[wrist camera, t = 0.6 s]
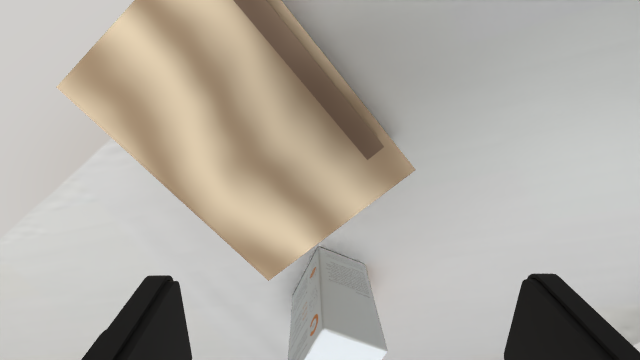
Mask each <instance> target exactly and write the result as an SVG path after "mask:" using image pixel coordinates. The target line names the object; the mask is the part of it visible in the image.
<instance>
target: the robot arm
mask: <svg viewBox="0 0 640 360" xmlns="http://www.w3.org/2000/svg"><path fill="white" fill-rule="evenodd" d="M82 360H192V354H191V348H190V342H189V336H188V331H187V325H186V319H185V314H184V308H183V302H182V296H181V291H180V285H179V283H178V281H173V278H172V277H171V276H147V277H146V278H145V279H144V280H143V282H142V283H141V284H140V286H139V287H138V288H137V290H136V291H135V292H134V294H133V295H132V296H131V298H130V299H129V301H128V302H127V303H126V305H125V306H124V307H123V309H122V310H121V311H120V313H119V314H118V315H117V317H116V318H115V319H114V321H113V322H112V323H111V325H110V326H109V327H108V329H107V330H105V331H104V332H103V333H102V334H101V335H100V336H99V337H98V338H97V340H96V341H95V342H94V344H93V345H92V346H91V348H90V349H89V350H88V352H87V353H86V354H85V356H84V357H83V358H82ZM504 360H640V352H639V351H638V350H637V349H635V348H634V347H633V346H632V345H631V344H630V343H629V342H628V341H627V340H626V339H625V338H624V337H623V336H622V335H621V334H619V333H618V332H617V331H616V330H615V329H614V328H613V327H612V326H611V325H610V324H609V323H608V322H607V321H606V320H605V319H604V318H602V317H601V316H600V315H599V314H598V313H597V312H596V311H595V310H594V309H593V308H592V307H591V306H590V305H589V304H588V303H586V302H585V301H584V300H583V299H582V298H581V297H580V296H579V295H578V294H577V293H576V292H575V291H574V290H573V289H572V288H571V287H569V286H568V285H567V284H566V283H565V282H564V281H563V280H562V279H561V278H560V277H559V276H557V275H556V274H531V275H529V276H528V278H527V279H526V280H524V281H523V282H522V285H521V289H520V293H519V296H518V300H517V304H516V308H515V312H514V316H513V320H512V324H511V328H510V332H509V336H508V340H507V344H506V348H505V352H504Z"/></svg>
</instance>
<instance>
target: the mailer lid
mask: <svg viewBox="0 0 640 360" xmlns="http://www.w3.org/2000/svg"><path fill="white" fill-rule="evenodd" d="M57 88H58V89H59V90H60V91H61V92H62V93H63V94H64V95H66V96H67V97H68V98H69V99H70V100H71V101H72V102H73V103H74V104H75V105H76V106H78V107H79V108H80V109H81V110H82V111H83V112H84V113H85V114H86V115H87V116H89V117H90V118H91V119H92V120H93V121H94V122H95V123H96V124H97V125H98V126H99V127H101V128H102V129H103V130H104V131H105V132H106V133H107V134H108V135H109V136H110V137H111V138H113V139H114V140H115V141H116V142H117V143H118V144H119V145H120V146H121V147H122V148H124V149H125V150H126V151H127V152H128V153H129V154H130V155H131V156H132V157H133V158H134V159H136V160H137V161H138V162H139V163H140V164H141V165H142V166H143V167H144V168H145V169H147V170H148V171H149V172H150V173H151V174H152V175H153V176H154V177H155V178H156V179H158V180H159V181H160V182H161V183H162V184H163V185H164V186H165V187H166V188H167V189H168V190H170V191H171V192H172V193H173V194H174V195H175V196H176V197H177V198H178V199H179V200H181V201H182V202H183V203H184V204H185V205H186V206H187V207H188V208H189V209H190V210H191V211H193V212H194V213H195V214H196V215H197V216H198V217H199V218H200V219H201V220H202V221H204V222H205V223H206V224H207V225H208V226H209V227H210V228H211V229H212V230H213V231H215V232H216V233H217V234H218V235H219V236H220V237H221V238H222V239H223V240H224V241H225V242H227V243H228V244H229V245H230V246H231V247H232V248H233V249H234V250H235V251H236V252H238V253H239V254H240V255H241V256H242V257H243V258H244V259H245V260H246V261H247V262H249V263H250V264H251V265H252V266H253V267H254V268H255V269H256V270H257V271H258V272H259V273H261V274H262V275H263V276H264V277H265V278H266V279H267V280H268V281H269V280H270V279H272V278H273V277H274V276H276V275H277V274H278V273H280V272H281V271H282V270H283V269H285V268H286V267H287V266H289V265H290V264H291V263H293V262H294V261H295V260H297V259H298V258H299V257H301V256H302V255H303V254H305V253H306V252H307V251H309V250H310V249H311V248H313V247H314V246H315V245H317V244H318V243H319V242H321V241H322V240H323V239H325V238H326V237H327V236H329V235H330V234H331V233H333V232H334V231H335V230H337V229H338V228H339V227H341V226H342V225H343V224H345V223H346V222H347V221H348V220H350V219H351V218H352V217H354V216H355V215H356V214H358V213H359V212H360V211H362V210H363V209H364V208H366V207H367V206H368V205H370V204H371V203H372V202H374V201H375V200H376V199H378V198H379V197H380V196H382V195H383V194H384V193H386V192H387V191H388V190H390V189H391V188H392V187H394V186H395V185H396V184H398V183H399V182H400V181H402V180H403V179H404V178H406V177H407V176H408V175H410V174H411V173H412V172H413V171H415V168H414V167H413V166H412V165H411V163H410V162H409V161H408V160H407V158H406V157H405V156H404V154H403V153H402V152H401V151H400V149H399V148H398V147H397V146H396V144H395V143H394V142H393V141H392V139H391V138H390V137H389V136H388V134H387V133H386V132H385V131H384V129H383V128H382V127H381V125H380V124H379V123H378V122H377V120H376V119H375V118H374V117H373V115H372V114H371V113H370V112H369V110H368V109H367V108H366V107H365V105H364V104H363V103H362V102H361V100H360V99H359V98H358V96H357V95H356V94H355V93H354V91H353V90H352V89H351V88H350V86H349V85H348V84H347V83H346V81H345V80H344V79H343V78H342V76H341V75H340V74H339V73H338V71H337V70H336V69H335V67H334V66H333V65H332V64H331V62H330V61H329V60H328V59H327V57H326V56H325V55H324V54H323V52H322V51H321V50H320V49H319V47H318V46H317V45H316V44H315V42H314V41H313V40H312V38H311V37H310V36H309V35H308V33H307V32H306V31H305V30H304V28H303V27H302V26H301V25H300V23H299V22H298V21H297V20H296V18H295V17H294V16H293V15H292V13H291V12H290V11H289V9H288V8H287V7H286V6H285V4H284V3H283V2H282V1H281V0H135V1H134V2H133V3H132V4H131V5H130V6H129V7H128V8H127V9H126V10H125V12H124V13H123V14H122V15H121V16H120V17H119V18H118V19H117V21H116V22H115V23H114V24H113V25H112V26H111V27H110V28H109V29H108V30H107V32H106V33H105V34H104V35H103V36H102V37H101V38H100V39H99V41H98V42H97V43H96V44H95V45H94V46H93V47H92V48H91V49H90V50H89V52H88V53H87V54H86V55H85V56H84V57H83V58H82V59H81V60H80V62H79V63H78V64H77V65H76V66H75V67H74V68H73V69H72V71H71V72H70V73H69V74H68V75H67V76H66V77H65V78H64V79H63V80H62V82H61V83H60V84H59V85H58V86H57Z"/></svg>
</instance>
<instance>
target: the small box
mask: <svg viewBox="0 0 640 360" xmlns="http://www.w3.org/2000/svg"><path fill="white" fill-rule="evenodd" d="M387 352H388V350H387V347H386V343H385V339H384V335H383V331H382V328H381V324H380V320H379V316H378V313H377V309H376V305H375V301H374V297H373V293H372V290H371V286H370V282H369V279H368V274H367V271H366V267H365V265H364V264H363V263H360V262H358V261H355V260H352V259H350V258H347V257H344V256H342V255H339V254H337V253H334V252H332V251H329V250H326V249H324V248H321V247H318V248H317V250H316V252H315V254H314V256H313V258H312V260H311V261H310V263H309V265H308V267H307V269H306V271H305V273H304V275H303V277H302V279H301V281H300V283H299V285H298V287H297V289H296V291H295V293H294V295H293V297H292V310H291V327H290V339H289V352H288V360H383V358H384V357H385V355H386V354H387Z"/></svg>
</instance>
